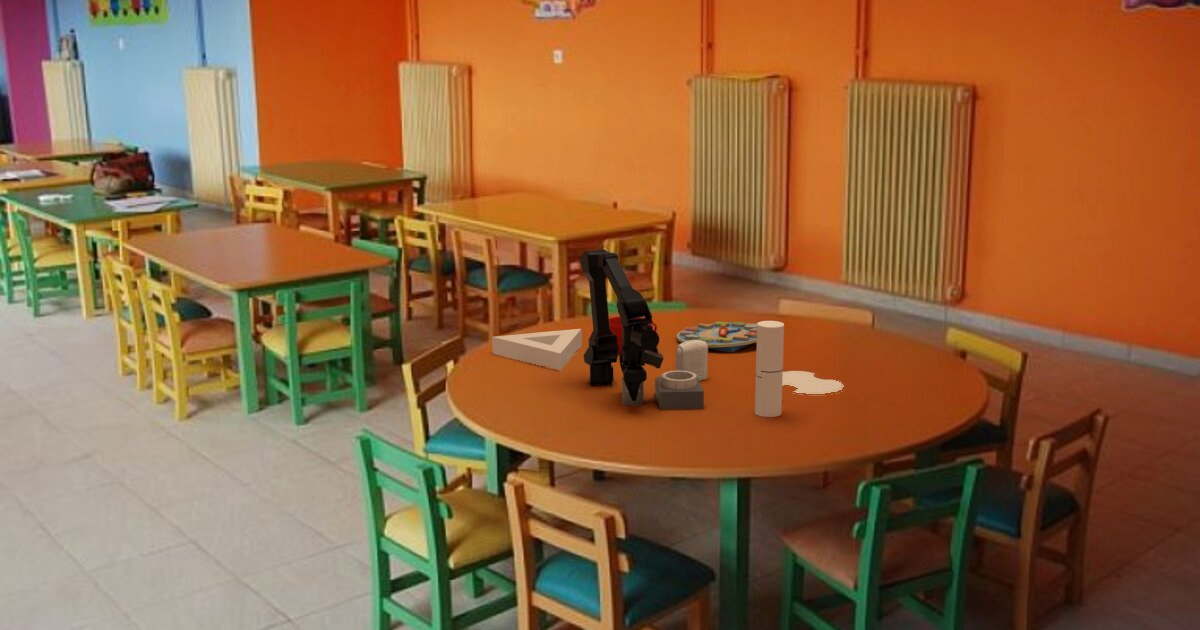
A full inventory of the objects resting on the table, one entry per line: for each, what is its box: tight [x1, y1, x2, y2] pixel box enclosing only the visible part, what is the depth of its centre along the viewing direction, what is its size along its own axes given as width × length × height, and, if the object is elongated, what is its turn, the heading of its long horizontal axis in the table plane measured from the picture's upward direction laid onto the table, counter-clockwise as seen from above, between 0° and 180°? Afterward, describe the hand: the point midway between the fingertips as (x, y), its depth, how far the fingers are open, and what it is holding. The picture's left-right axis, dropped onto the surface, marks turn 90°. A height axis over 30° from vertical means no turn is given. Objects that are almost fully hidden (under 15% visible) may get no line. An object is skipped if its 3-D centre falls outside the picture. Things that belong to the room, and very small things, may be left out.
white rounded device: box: [675, 340, 709, 382], centre depth 356 cm, size 10×4×12 cm, turn 123°
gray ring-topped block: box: [654, 370, 705, 410], centre depth 338 cm, size 12×14×8 cm
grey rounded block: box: [621, 377, 645, 407], centre depth 337 cm, size 6×6×7 cm
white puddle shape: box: [782, 370, 845, 394], centre depth 354 cm, size 20×2×25 cm
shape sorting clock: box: [676, 321, 757, 353], centre depth 399 cm, size 31×30×6 cm
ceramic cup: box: [609, 316, 658, 355], centre depth 388 cm, size 13×17×10 cm
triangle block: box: [491, 328, 583, 371], centre depth 379 cm, size 30×26×6 cm
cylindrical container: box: [754, 320, 785, 418], centre depth 325 cm, size 7×7×25 cm
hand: (632, 395), depth 338 cm, fingers open, 9 cm apart
